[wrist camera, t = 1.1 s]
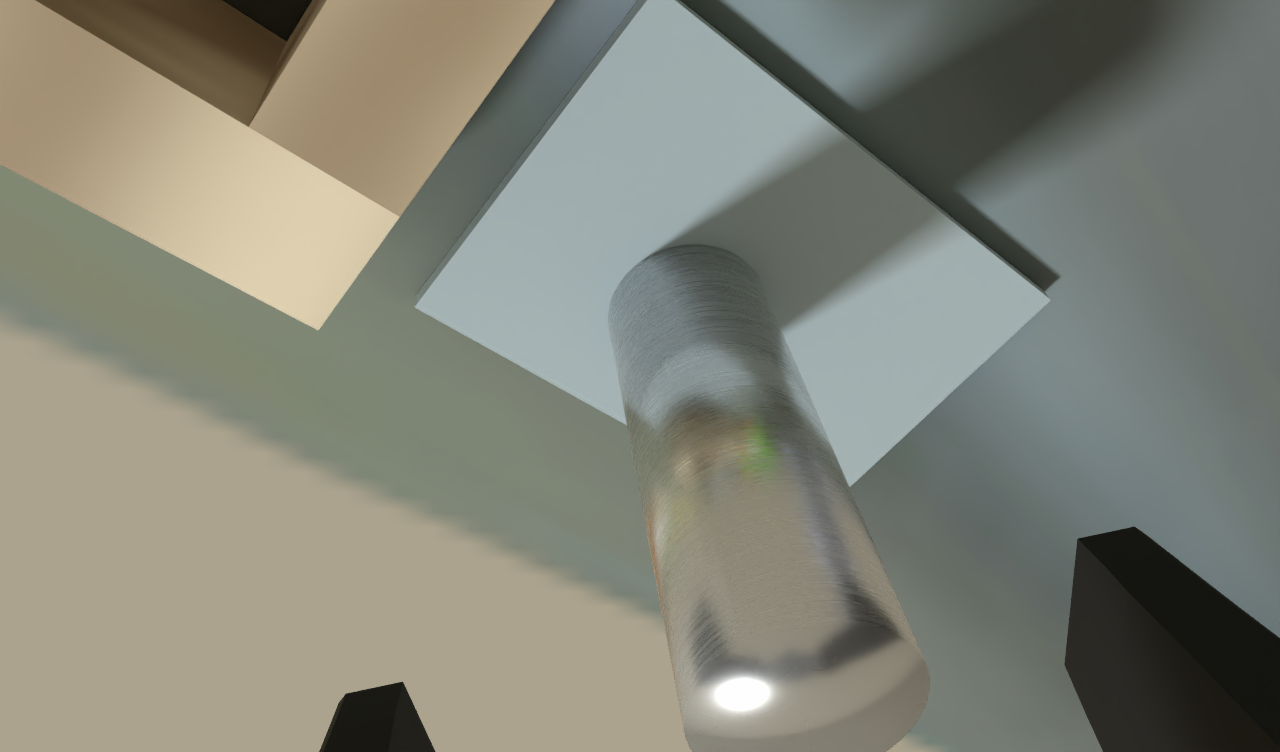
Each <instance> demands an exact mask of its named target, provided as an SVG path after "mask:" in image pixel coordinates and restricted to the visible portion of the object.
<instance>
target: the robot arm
mask: <svg viewBox="0 0 1280 752" xmlns="http://www.w3.org/2000/svg"><path fill="white" fill-rule="evenodd" d="M1065 667H1066V669H1067V671H1068V674H1069V676H1070V678H1071V681H1072V683H1073V685H1074V688H1075V690H1076V692H1077V695H1078V697H1079V699H1080V701H1081V704H1082V706H1083V708H1084V711H1085V713H1086V715H1087V717H1088V720H1089V722H1090V724H1091V726H1092V728H1093V730H1094V733H1095V735H1096V737H1097V739H1098V741H1099V743H1100V746H1101V748H1102V750H1103V752H1280V638H1279V637H1278V636H1276V635H1275V634H1274V633H1272V632H1271V631H1270V630H1268V629H1267V628H1266V627H1264V626H1263V625H1262V624H1260V623H1259V622H1258V621H1256V620H1255V619H1254V618H1253V617H1251V616H1250V615H1249V614H1247V613H1246V612H1245V611H1243V610H1242V609H1241V608H1239V607H1238V606H1237V605H1236V604H1234V603H1233V602H1232V601H1230V600H1229V599H1228V598H1226V597H1225V596H1224V595H1223V594H1221V593H1220V592H1219V591H1217V590H1216V589H1215V588H1214V587H1212V586H1211V585H1210V584H1208V583H1207V582H1206V581H1205V580H1203V579H1202V578H1201V577H1199V576H1198V575H1197V574H1196V573H1194V572H1193V571H1192V570H1190V569H1189V568H1188V567H1187V566H1185V565H1184V564H1183V563H1182V562H1180V561H1179V560H1178V559H1176V558H1175V557H1174V556H1173V555H1171V554H1170V553H1169V552H1167V551H1166V550H1165V549H1164V548H1162V547H1161V546H1160V545H1159V544H1157V543H1156V542H1155V541H1153V540H1152V539H1151V538H1149V537H1148V536H1147V535H1146V534H1144V533H1143V532H1142V531H1140V530H1139V529H1137V528H1136V527H1131V528H1126V529H1121V530H1117V531H1112V532H1107V533H1102V534H1098V535H1093V536H1088V537H1084V538H1079V539H1077V549H1076V559H1075V568H1074V578H1073V588H1072V598H1071V607H1070V617H1069V627H1068V636H1067V646H1066V656H1065ZM319 752H435V750H434V748H433V746H432V743H431V741H430V739H429V737H428V735H427V733H426V731H425V728H424V726H423V724H422V722H421V720H420V718H419V715H418V713H417V711H416V709H415V707H414V705H413V702H412V700H411V698H410V696H409V694H408V692H407V690H406V687H405V685H404V683H403V682H399V683H395V684H390V685H385V686H381V687H376V688H371V689H366V690H362V691H357V692H352V693H348V694H345V696H344V697H343V698H342V700H341V701H340V702H339V704H338V706H337V709H336V712H335V714H334V716H333V719H332V722H331V724H330V727H329V729H328V732H327V734H326V737H325V739H324V742H323V744H322V746H321V749H320V751H319Z"/></svg>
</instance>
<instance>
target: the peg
mask: <svg viewBox="0 0 1280 752" xmlns="http://www.w3.org/2000/svg"><path fill="white" fill-rule="evenodd" d="M608 327H609V333H610V338H611V343H612V349H613V354H614V359H615V365H616V370H617V375H618V381H619V386H620V391H621V397H622V402H623V407H624V412H625V418H626V423H627V428H628V434H629V439H630V444H631V450H632V455H633V460H634V466H635V471H636V476H637V482H638V487H639V492H640V498H641V503H642V508H643V514H644V519H645V524H646V530H647V535H648V540H649V546H650V551H651V556H652V562H653V567H654V572H655V578H656V583H657V588H658V594H659V599H660V604H661V610H662V615H663V620H664V626H665V631H666V636H667V642H668V647H669V652H670V658H671V663H672V668H673V673H674V679H675V684H676V689H677V695H678V700H679V706H680V711H681V716H682V722H683V727H684V732H685V737H686V740H687V742H688V744H689V747H690V749H691V750H692V752H886V751H887V750H889V749H890V748H892V747H893V746H894V745H895V744H896V743H898V742H899V741H900V740H901V739H902V738H903V737H904V736H905V735H906V734H907V733H908V732H909V731H910V730H911V728H912V727H913V726H914V725H915V723H916V722H917V721H918V719H919V717H920V716H921V714H922V712H923V710H924V708H925V705H926V703H927V700H928V696H929V691H930V677H929V672H928V668H927V666H926V663H925V661H924V659H923V656H922V654H921V652H920V650H919V647H918V645H917V643H916V640H915V638H914V636H913V633H912V631H911V629H910V626H909V624H908V622H907V619H906V617H905V615H904V612H903V610H902V608H901V605H900V603H899V601H898V599H897V596H896V594H895V592H894V589H893V587H892V585H891V582H890V580H889V578H888V575H887V573H886V571H885V568H884V566H883V564H882V561H881V559H880V557H879V554H878V552H877V550H876V548H875V545H874V543H873V541H872V538H871V536H870V534H869V531H868V529H867V527H866V524H865V522H864V520H863V517H862V515H861V513H860V510H859V508H858V506H857V503H856V501H855V499H854V497H853V494H852V492H851V490H850V487H849V485H848V483H847V480H846V478H845V476H844V473H843V471H842V469H841V466H840V464H839V462H838V459H837V457H836V455H835V452H834V450H833V448H832V446H831V443H830V441H829V439H828V436H827V434H826V432H825V429H824V427H823V425H822V422H821V420H820V418H819V415H818V413H817V411H816V408H815V406H814V404H813V401H812V399H811V397H810V395H809V392H808V390H807V388H806V385H805V383H804V381H803V378H802V376H801V374H800V371H799V369H798V367H797V364H796V362H795V360H794V357H793V355H792V353H791V350H790V348H789V346H788V344H787V341H786V339H785V337H784V334H783V332H782V330H781V327H780V325H779V323H778V320H777V318H776V316H775V313H774V311H773V309H772V306H771V304H770V302H769V300H768V297H767V295H766V293H765V290H764V288H763V286H762V283H761V281H760V279H759V277H758V276H757V274H756V272H755V271H754V270H753V269H752V268H751V266H750V265H749V264H748V263H747V262H745V261H744V260H743V259H742V258H740V257H739V256H737V255H736V254H734V253H732V252H730V251H728V250H725V249H723V248H719V247H716V246H711V245H705V244H686V245H679V246H674V247H670V248H667V249H664V250H661V251H659V252H656V253H654V254H652V255H650V256H648V257H647V258H645V259H643V260H642V261H641V262H639V263H638V264H637V265H635V266H634V267H633V268H632V269H631V270H630V271H629V272H628V273H627V274H626V275H625V276H624V278H623V279H622V280H621V281H620V283H619V285H618V286H617V288H616V290H615V292H614V294H613V296H612V299H611V302H610V306H609V312H608Z"/></svg>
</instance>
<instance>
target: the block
mask: <svg viewBox="0 0 1280 752" xmlns="http://www.w3.org/2000/svg"><path fill="white" fill-rule="evenodd" d="M554 1H555V0H312V1H311V3H310V5H309V6H308V8H307V10H306V11H305V13H304V14H303V16H302V18H301V19H300V21H299V23H298V24H297V26H296V28H295V29H294V31H293V32H292V34H291V36H290V37H289V39H288V41H285V40H283V39H282V38H280V37H279V36H277V35H276V34H274V33H273V32H271V31H269V30H268V29H266V28H265V27H263V26H262V25H260V24H259V23H257V22H255V21H254V20H252V19H251V18H249V17H248V16H246V15H244V14H243V13H241V12H240V11H238V10H237V9H235V8H234V7H232V6H230V5H229V4H227V3H226V2H224V1H223V0H0V164H1V165H2V166H4V167H6V168H8V169H10V170H12V171H14V172H16V173H18V174H20V175H22V176H23V177H25V178H27V179H29V180H31V181H33V182H35V183H37V184H39V185H41V186H43V187H45V188H46V189H48V190H50V191H52V192H54V193H56V194H58V195H60V196H62V197H64V198H66V199H68V200H69V201H71V202H73V203H75V204H77V205H79V206H81V207H83V208H85V209H87V210H89V211H91V212H92V213H94V214H96V215H98V216H100V217H102V218H104V219H106V220H108V221H110V222H112V223H114V224H115V225H117V226H119V227H121V228H123V229H125V230H127V231H129V232H131V233H133V234H135V235H137V236H138V237H140V238H142V239H144V240H146V241H148V242H150V243H152V244H154V245H156V246H158V247H160V248H161V249H163V250H165V251H167V252H169V253H171V254H173V255H175V256H177V257H179V258H181V259H183V260H184V261H186V262H188V263H190V264H192V265H194V266H196V267H198V268H200V269H202V270H204V271H206V272H207V273H209V274H211V275H213V276H215V277H217V278H219V279H221V280H223V281H225V282H227V283H229V284H230V285H232V286H234V287H236V288H238V289H240V290H242V291H244V292H246V293H248V294H250V295H252V296H253V297H255V298H257V299H259V300H261V301H263V302H265V303H267V304H269V305H271V306H273V307H275V308H276V309H278V310H280V311H282V312H284V313H286V314H288V315H290V316H292V317H294V318H296V319H298V320H299V321H301V322H303V323H305V324H307V325H309V326H311V327H313V328H315V329H317V330H319V329H320V327H321V326H322V325H323V323H324V322H325V320H326V319H327V318H328V316H329V315H330V313H331V312H332V311H333V309H334V308H335V306H336V305H337V304H338V302H339V301H340V299H341V298H342V297H343V295H344V294H345V293H346V291H347V290H348V288H349V287H350V286H351V284H352V283H353V281H354V280H355V279H356V277H357V276H358V274H359V273H360V272H361V270H362V269H363V267H364V266H365V265H366V263H367V262H368V260H369V259H370V258H371V256H372V255H373V254H374V252H375V251H376V249H377V248H378V247H379V245H380V244H381V242H382V241H383V240H384V238H385V237H386V235H387V234H388V233H389V231H390V230H391V228H392V227H393V226H394V224H395V223H396V221H397V220H398V219H399V217H400V216H401V214H402V213H403V212H404V210H405V209H406V208H407V206H408V205H409V203H410V202H411V201H412V199H413V198H414V196H415V195H416V194H417V192H418V191H419V189H420V188H421V187H422V185H423V184H424V182H425V181H426V180H427V178H428V177H429V175H430V174H431V173H432V171H433V170H434V168H435V167H436V166H437V164H438V163H439V162H440V160H441V159H442V157H443V156H444V155H445V153H446V152H447V150H448V149H449V148H450V146H451V145H452V143H453V142H454V141H455V139H456V138H457V136H458V135H459V134H460V132H461V131H462V129H463V128H464V127H465V125H466V124H467V122H468V121H469V120H470V118H471V117H472V116H473V114H474V113H475V111H476V110H477V109H478V107H479V106H480V104H481V103H482V102H483V100H484V99H485V97H486V96H487V95H488V93H489V92H490V90H491V89H492V88H493V86H494V85H495V83H496V82H497V81H498V79H499V78H500V76H501V75H502V74H503V72H504V71H505V70H506V68H507V67H508V65H509V64H510V63H511V61H512V60H513V58H514V57H515V56H516V54H517V53H518V51H519V50H520V49H521V47H522V46H523V44H524V43H525V42H526V40H527V39H528V37H529V36H530V35H531V33H532V32H533V31H534V29H535V28H536V26H537V25H538V24H539V22H540V21H541V19H542V18H543V17H544V15H545V14H546V12H547V11H548V10H549V8H550V7H551V5H552V4H553V3H554Z"/></svg>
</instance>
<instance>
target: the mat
mask: <svg viewBox="0 0 1280 752" xmlns="http://www.w3.org/2000/svg"><path fill="white" fill-rule="evenodd" d="M686 244H705V245H711V246H716V247H719V248H723V249H725V250H728V251H730V252H732V253H734V254H736V255H737V256H739V257H740V258H742V259H743V260H744V261H745V262H747V263H748V264H749V265H750V266H751V268H752V269H753V270H754V271H755V272H756V274H757V276H758V277H759V279H760V281H761V283H762V286H763V288H764V290H765V293H766V295H767V297H768V300H769V302H770V304H771V306H772V309H773V311H774V313H775V316H776V318H777V320H778V323H779V325H780V327H781V330H782V332H783V334H784V337H785V339H786V341H787V344H788V346H789V348H790V350H791V353H792V355H793V357H794V360H795V362H796V364H797V367H798V369H799V371H800V374H801V376H802V378H803V381H804V383H805V385H806V388H807V390H808V392H809V395H810V397H811V399H812V401H813V404H814V406H815V408H816V411H817V413H818V415H819V418H820V420H821V422H822V425H823V427H824V429H825V432H826V434H827V436H828V439H829V441H830V443H831V446H832V448H833V450H834V452H835V455H836V457H837V459H838V462H839V464H840V466H841V469H842V471H843V473H844V476H845V478H846V480H847V483H848V485H849V487H850V486H851V485H853V484H854V483H855V482H856V481H857V480H858V479H859V478H860V477H861V476H862V475H863V474H864V473H865V472H867V471H868V470H869V469H870V468H871V467H872V466H873V465H874V464H875V463H876V462H877V461H878V460H879V459H880V458H882V457H883V456H884V455H885V454H886V453H887V452H888V451H889V450H890V449H891V448H892V447H893V446H894V445H896V444H897V443H898V442H899V441H900V440H901V439H902V438H903V437H904V436H905V435H906V434H907V433H908V432H910V431H911V430H912V429H913V428H914V427H915V426H916V425H917V424H918V423H919V422H920V421H921V420H922V419H923V418H925V417H926V416H927V415H928V414H929V413H930V412H931V411H932V410H933V409H934V408H935V407H936V406H937V405H939V404H940V403H941V402H942V401H943V400H944V399H945V398H946V397H947V396H948V395H949V394H950V393H951V392H953V391H954V390H955V389H956V388H957V387H958V386H959V385H960V384H961V383H962V382H963V381H964V380H965V379H966V378H968V377H969V376H970V375H971V374H972V373H973V372H974V371H975V370H976V369H977V368H978V367H979V366H980V365H982V364H983V363H984V362H985V361H986V360H987V359H988V358H989V357H990V356H991V355H992V354H993V353H994V352H996V351H997V350H998V349H999V348H1000V347H1001V346H1002V345H1003V344H1004V343H1005V342H1006V341H1007V340H1008V339H1009V338H1011V337H1012V336H1013V335H1014V334H1015V333H1016V332H1017V331H1018V330H1019V329H1020V328H1021V327H1022V326H1023V325H1025V324H1026V323H1027V322H1028V321H1029V320H1030V319H1031V318H1032V317H1033V316H1034V315H1035V314H1036V313H1037V312H1038V311H1040V310H1041V309H1042V308H1043V307H1044V306H1045V305H1046V304H1047V303H1048V302H1049V301H1050V300H1051V299H1050V298H1049V297H1048V296H1047V295H1046V294H1045V292H1044V291H1043V290H1042V289H1041V288H1040V287H1038V286H1037V285H1036V284H1035V283H1033V282H1032V281H1031V280H1030V279H1028V278H1027V277H1026V276H1025V275H1023V274H1022V273H1021V272H1020V271H1018V270H1017V269H1016V268H1015V267H1013V266H1012V265H1011V264H1010V263H1008V262H1007V261H1006V260H1005V259H1003V258H1002V257H1001V256H1000V255H998V254H997V253H996V252H995V251H993V250H992V249H991V248H990V247H988V246H987V245H986V244H984V243H983V242H982V241H981V240H979V239H978V238H977V237H976V236H974V235H973V234H972V233H971V232H969V231H968V230H967V229H966V228H964V227H963V226H962V225H961V224H959V223H958V222H957V221H956V220H954V219H953V218H952V217H951V216H949V215H948V214H947V213H946V212H944V211H943V210H942V209H941V208H939V207H938V206H937V205H936V204H934V203H933V202H932V201H931V200H929V199H928V198H927V197H926V196H924V195H923V194H922V193H921V192H919V191H918V190H917V189H916V188H914V187H913V186H912V185H911V184H909V183H908V182H907V181H906V180H904V179H903V178H902V177H901V176H899V175H898V174H897V173H896V172H894V171H893V170H892V169H891V168H889V167H888V166H887V165H886V164H884V163H883V162H882V161H881V160H879V159H878V158H877V157H876V156H874V155H873V154H872V153H871V152H869V151H868V150H867V149H866V148H864V147H863V146H862V145H861V144H859V143H858V142H857V141H856V140H854V139H853V138H852V137H851V136H849V135H848V134H847V133H846V132H844V131H843V130H842V129H841V128H839V127H838V126H837V125H836V124H834V123H833V122H832V121H831V120H829V119H828V118H827V117H826V116H824V115H823V114H822V113H821V112H819V111H818V110H817V109H816V108H814V107H813V106H812V105H811V104H809V103H808V102H807V101H806V100H804V99H803V98H802V97H801V96H799V95H798V94H797V93H796V92H794V91H793V90H792V89H791V88H789V87H788V86H787V85H786V84H784V83H783V82H782V81H781V80H779V79H778V78H777V77H776V76H774V75H773V74H772V73H771V72H769V71H768V70H767V69H766V68H764V67H763V66H762V65H761V64H759V63H758V62H757V61H756V60H754V59H753V58H752V57H751V56H749V55H748V54H747V53H746V52H744V51H743V50H742V49H741V48H739V47H738V46H737V45H735V44H734V43H733V42H732V41H730V40H729V39H728V38H727V37H725V36H724V35H723V34H722V33H720V32H719V31H718V30H717V29H715V28H714V27H713V26H712V25H710V24H709V23H708V22H707V21H705V20H704V19H703V18H702V17H700V16H699V15H698V14H697V13H695V12H694V11H693V10H692V9H690V8H689V7H688V6H687V5H685V4H684V3H683V2H682V1H680V0H638V1H637V3H636V4H635V5H634V7H633V8H632V9H631V11H630V12H629V13H628V15H627V16H626V17H625V19H624V20H623V21H622V23H621V24H620V25H619V26H618V28H617V29H616V30H615V32H614V33H613V34H612V36H611V37H610V38H609V40H608V41H607V42H606V44H605V45H604V46H603V48H602V49H601V50H600V52H599V53H598V54H597V56H596V57H595V58H594V60H593V61H592V62H591V64H590V65H589V66H588V68H587V69H586V70H585V72H584V73H583V74H582V76H581V77H580V78H579V80H578V81H577V82H576V84H575V85H574V86H573V88H572V89H571V90H570V91H569V93H568V94H567V95H566V97H565V98H564V99H563V101H562V102H561V103H560V105H559V106H558V107H557V109H556V110H555V111H554V113H553V114H552V115H551V117H550V118H549V119H548V121H547V122H546V123H545V125H544V126H543V127H542V129H541V130H540V131H539V133H538V134H537V135H536V137H535V138H534V139H533V141H532V142H531V143H530V145H529V146H528V147H527V149H526V150H525V151H524V153H523V154H522V155H521V157H520V158H519V159H518V160H517V162H516V163H515V164H514V166H513V167H512V168H511V170H510V171H509V172H508V174H507V175H506V176H505V178H504V179H503V180H502V182H501V183H500V184H499V186H498V187H497V188H496V190H495V191H494V192H493V194H492V195H491V196H490V198H489V199H488V200H487V202H486V203H485V204H484V206H483V207H482V208H481V210H480V211H479V212H478V214H477V215H476V216H475V218H474V219H473V220H472V222H471V223H470V224H469V225H468V227H467V228H466V229H465V231H464V232H463V233H462V235H461V236H460V237H459V239H458V240H457V241H456V243H455V244H454V245H453V247H452V248H451V249H450V251H449V252H448V253H447V255H446V256H445V257H444V259H443V260H442V261H441V263H440V264H439V265H438V267H437V268H436V269H435V271H434V272H433V273H432V275H431V276H430V277H429V279H428V280H427V281H426V283H425V284H424V285H423V287H422V288H421V289H420V290H419V292H418V293H417V294H416V296H415V308H417V309H419V310H420V311H422V312H424V313H426V314H428V315H429V316H431V317H433V318H435V319H437V320H438V321H440V322H442V323H444V324H446V325H447V326H449V327H451V328H453V329H455V330H456V331H458V332H460V333H462V334H464V335H465V336H467V337H469V338H471V339H473V340H474V341H476V342H478V343H480V344H482V345H483V346H485V347H487V348H489V349H491V350H492V351H494V352H496V353H498V354H500V355H501V356H503V357H505V358H507V359H509V360H510V361H512V362H514V363H516V364H518V365H519V366H521V367H523V368H525V369H527V370H528V371H530V372H532V373H534V374H536V375H537V376H539V377H541V378H543V379H545V380H546V381H548V382H550V383H552V384H554V385H555V386H557V387H559V388H561V389H563V390H564V391H566V392H568V393H570V394H571V395H573V396H575V397H577V398H579V399H580V400H582V401H584V402H586V403H588V404H589V405H591V406H593V407H595V408H597V409H598V410H600V411H602V412H604V413H606V414H607V415H609V416H611V417H613V418H615V419H616V420H618V421H620V422H622V423H624V424H625V425H627V423H626V418H625V412H624V407H623V402H622V397H621V391H620V386H619V381H618V375H617V370H616V365H615V359H614V354H613V349H612V343H611V338H610V333H609V327H608V312H609V306H610V302H611V299H612V296H613V294H614V292H615V290H616V288H617V286H618V285H619V283H620V281H621V280H622V279H623V278H624V276H625V275H626V274H627V273H628V272H629V271H630V270H631V269H632V268H633V267H634V266H635V265H637V264H638V263H639V262H641V261H642V260H643V259H645V258H647V257H648V256H650V255H652V254H654V253H656V252H659V251H661V250H664V249H667V248H670V247H674V246H679V245H686Z"/></svg>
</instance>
